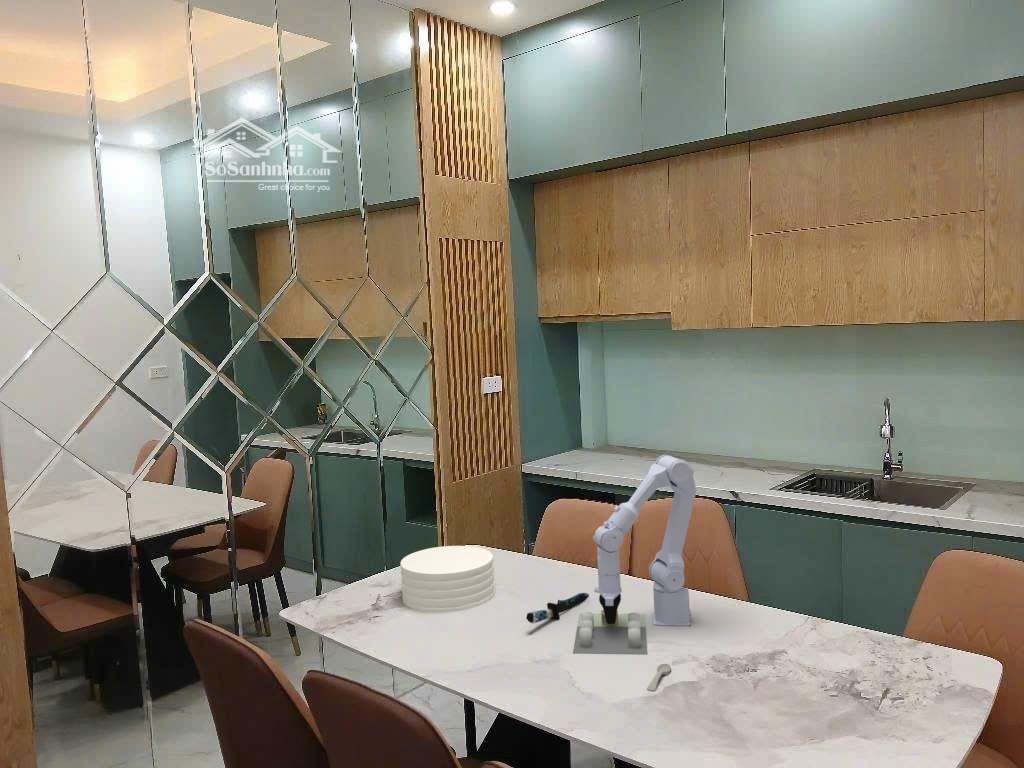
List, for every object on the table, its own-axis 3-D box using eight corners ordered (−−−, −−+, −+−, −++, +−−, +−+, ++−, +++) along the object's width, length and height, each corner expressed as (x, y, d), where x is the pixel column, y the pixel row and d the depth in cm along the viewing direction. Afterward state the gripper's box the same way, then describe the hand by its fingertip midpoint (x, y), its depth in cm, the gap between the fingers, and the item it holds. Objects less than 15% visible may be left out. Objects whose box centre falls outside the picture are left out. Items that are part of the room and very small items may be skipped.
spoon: (673, 670, 177) (672, 662, 177) (657, 697, 167) (657, 688, 167) (660, 668, 179) (660, 660, 178) (644, 694, 168) (643, 686, 168)
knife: (530, 631, 200) (530, 613, 200) (520, 628, 202) (521, 611, 202) (596, 606, 224) (597, 590, 224) (587, 604, 226) (588, 588, 226)
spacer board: (645, 614, 211) (644, 599, 211) (647, 655, 185) (646, 638, 185) (579, 614, 214) (578, 599, 213) (572, 654, 188) (572, 637, 188)
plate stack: (444, 575, 254) (442, 541, 253) (513, 589, 237) (511, 552, 237) (383, 602, 231) (380, 565, 231) (454, 619, 215) (452, 579, 214)
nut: (617, 619, 208) (616, 608, 208) (618, 626, 203) (618, 615, 203) (600, 619, 208) (600, 608, 208) (602, 626, 203) (601, 615, 203)
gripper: (594, 563, 209) (596, 612, 210) (592, 581, 195) (594, 633, 196) (620, 563, 208) (622, 612, 209) (620, 581, 194) (622, 634, 195)
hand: (611, 623), depth 202 cm, fingers closed
